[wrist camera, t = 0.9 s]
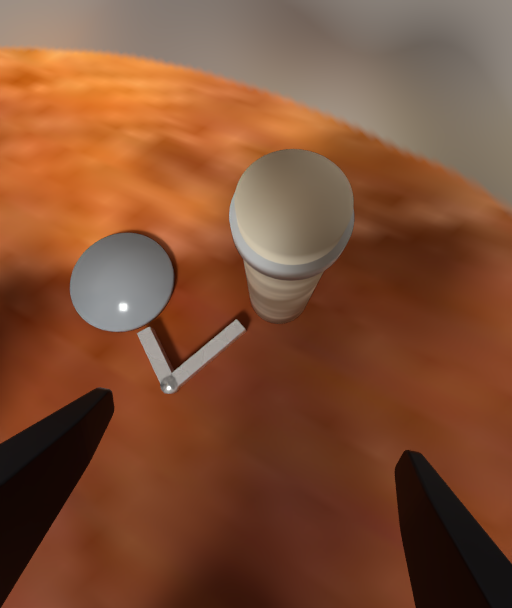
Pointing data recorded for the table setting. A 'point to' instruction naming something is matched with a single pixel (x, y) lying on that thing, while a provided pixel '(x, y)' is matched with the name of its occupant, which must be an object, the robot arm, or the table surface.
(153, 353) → the bent rod
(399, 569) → the table surface
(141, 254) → the coaster
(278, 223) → the ringed post
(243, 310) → the table surface
